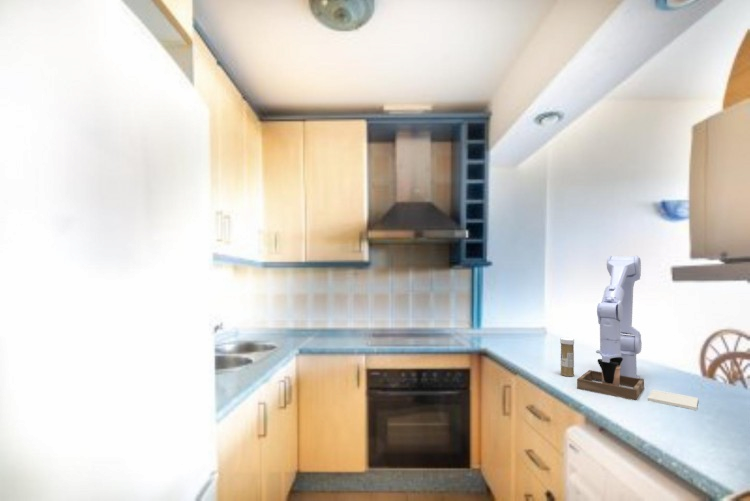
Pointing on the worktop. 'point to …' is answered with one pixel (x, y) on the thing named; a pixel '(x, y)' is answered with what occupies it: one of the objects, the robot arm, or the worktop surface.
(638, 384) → the box
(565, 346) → the sprinkles bottle
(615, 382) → the terracotta pot
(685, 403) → the ceramic tile
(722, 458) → the worktop surface
